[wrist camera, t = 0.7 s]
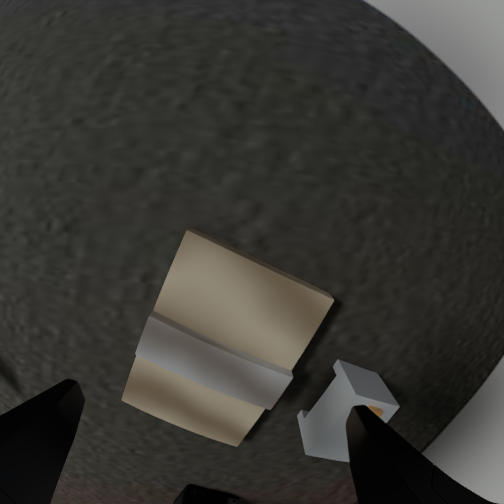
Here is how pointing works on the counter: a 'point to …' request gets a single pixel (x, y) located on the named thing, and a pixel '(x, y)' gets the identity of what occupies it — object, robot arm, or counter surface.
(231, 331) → the board
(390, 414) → the block
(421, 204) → the counter surface
